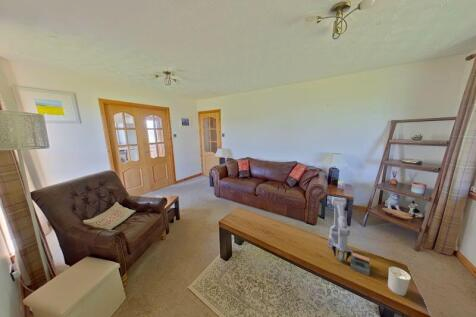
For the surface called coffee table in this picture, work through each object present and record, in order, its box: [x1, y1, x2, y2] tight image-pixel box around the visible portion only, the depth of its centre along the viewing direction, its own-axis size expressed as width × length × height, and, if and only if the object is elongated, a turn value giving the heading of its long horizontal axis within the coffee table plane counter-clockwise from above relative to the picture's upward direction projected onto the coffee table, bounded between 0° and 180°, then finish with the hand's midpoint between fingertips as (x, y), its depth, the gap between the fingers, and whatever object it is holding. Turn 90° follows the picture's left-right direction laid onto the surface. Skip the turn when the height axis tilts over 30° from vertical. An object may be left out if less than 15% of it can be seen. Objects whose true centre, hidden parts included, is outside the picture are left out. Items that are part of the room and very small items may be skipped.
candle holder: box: [387, 266, 412, 297], centre depth 102 cm, size 10×10×12 cm
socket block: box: [349, 252, 371, 277], centre depth 120 cm, size 11×12×6 cm
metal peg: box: [337, 249, 345, 263], centre depth 126 cm, size 4×4×8 cm
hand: (340, 257), depth 126 cm, fingers open, 7 cm apart
